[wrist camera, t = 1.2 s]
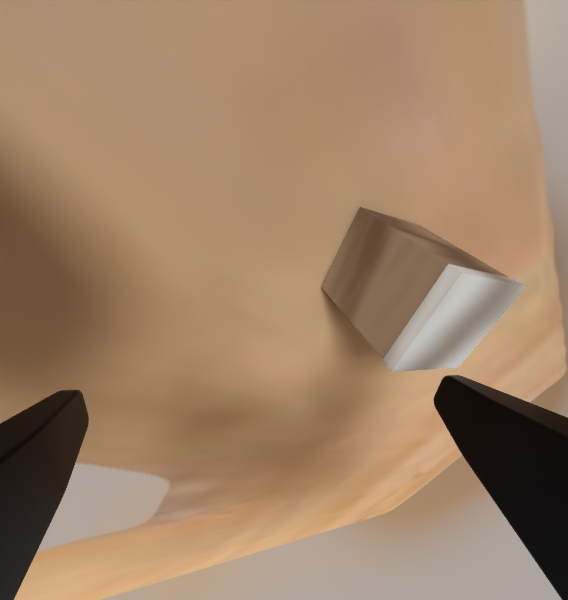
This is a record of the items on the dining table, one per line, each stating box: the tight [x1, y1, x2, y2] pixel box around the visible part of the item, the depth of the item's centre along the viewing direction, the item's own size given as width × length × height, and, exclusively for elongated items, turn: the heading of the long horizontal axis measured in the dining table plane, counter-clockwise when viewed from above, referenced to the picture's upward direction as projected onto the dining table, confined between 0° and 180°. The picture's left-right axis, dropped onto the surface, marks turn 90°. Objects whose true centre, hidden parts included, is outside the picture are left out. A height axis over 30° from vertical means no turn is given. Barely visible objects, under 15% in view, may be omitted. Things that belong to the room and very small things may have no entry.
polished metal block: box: [322, 207, 527, 372], centre depth 20 cm, size 6×6×8 cm
